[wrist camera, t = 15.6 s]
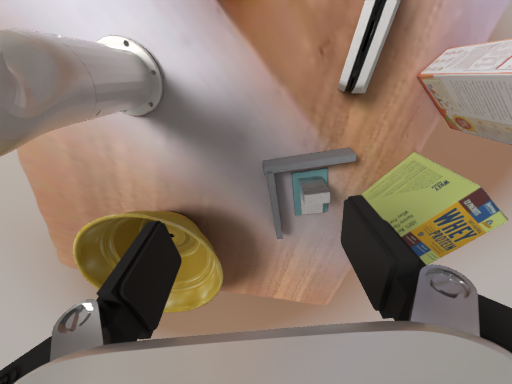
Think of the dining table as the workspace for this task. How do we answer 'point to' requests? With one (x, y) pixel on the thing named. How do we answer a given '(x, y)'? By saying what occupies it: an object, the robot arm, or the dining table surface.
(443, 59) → the cracker box
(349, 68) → the white black slab
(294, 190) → the mat
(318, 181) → the grey l-shaped block
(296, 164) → the corner walls
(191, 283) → the planter bowl
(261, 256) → the dining table surface
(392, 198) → the protein box
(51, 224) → the dining table surface
